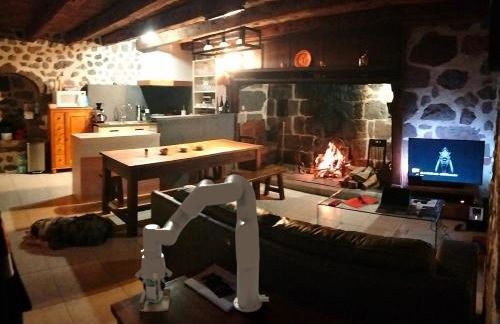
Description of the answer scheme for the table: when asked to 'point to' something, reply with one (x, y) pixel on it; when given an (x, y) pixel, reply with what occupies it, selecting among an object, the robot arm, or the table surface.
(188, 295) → the table surface
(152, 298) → the syrup box
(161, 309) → the board
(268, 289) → the table surface
